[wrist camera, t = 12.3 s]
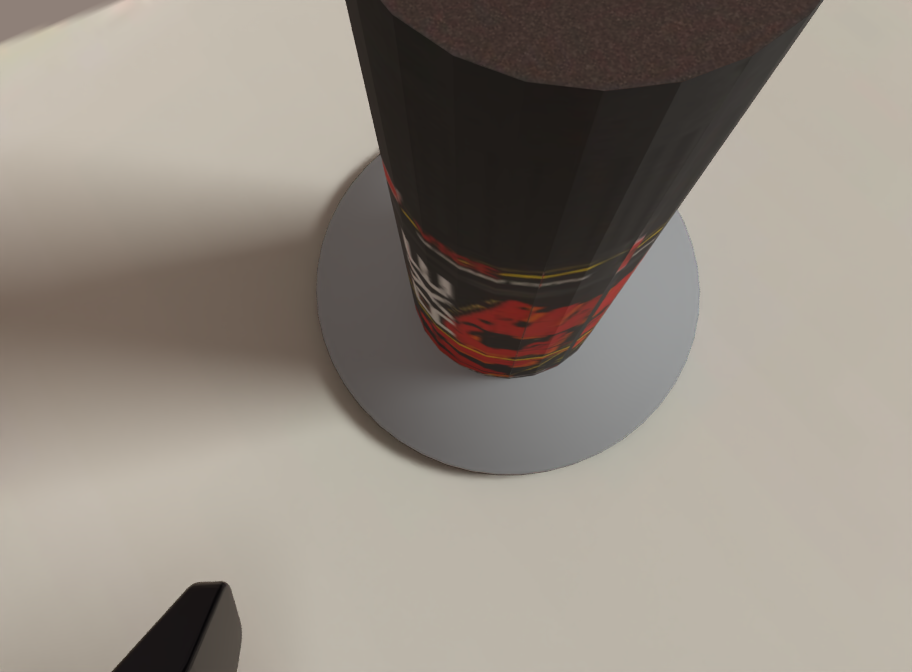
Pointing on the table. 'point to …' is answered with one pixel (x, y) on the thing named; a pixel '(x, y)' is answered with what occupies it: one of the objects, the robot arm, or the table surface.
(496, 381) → the slate mat
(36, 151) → the table surface
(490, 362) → the deodorant
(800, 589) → the table surface
